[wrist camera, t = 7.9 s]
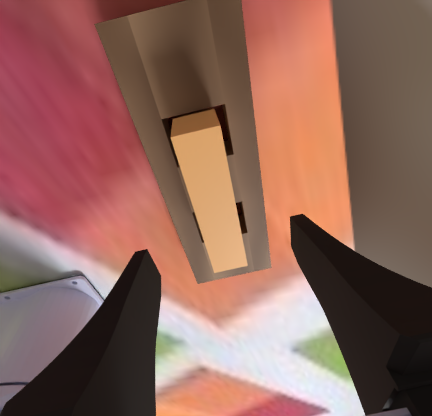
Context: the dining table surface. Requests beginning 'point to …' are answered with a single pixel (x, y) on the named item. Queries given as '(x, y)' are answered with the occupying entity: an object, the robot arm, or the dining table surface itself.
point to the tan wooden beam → (209, 186)
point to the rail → (192, 109)
